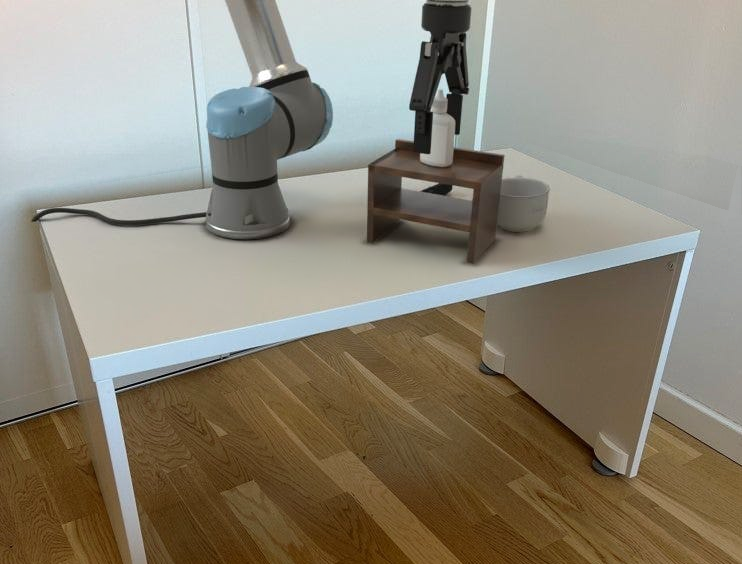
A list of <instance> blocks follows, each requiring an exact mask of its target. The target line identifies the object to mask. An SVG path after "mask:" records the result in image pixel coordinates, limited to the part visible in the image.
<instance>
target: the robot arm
mask: <svg viewBox="0 0 742 564" xmlns="http://www.w3.org/2000/svg"><path fill="white" fill-rule="evenodd" d="M471 1H472V0H425V2H424V3H423V5H422V7H421V23H420V25H421V27H420V28H421V29H422V30H423V31H425V32H429V33H430V37H429V41H424V40H423V41H421V42H420V51H419V59H418V63H417V67H416V73H415V77H414V82H413V86H412V91H411V96H410V100H409V104H408V105H409V107H408V109H409V111H413V112H414V127H413V129H414V130H413V141H414V146H413V152H416V153H422V154H428V155H429V154H430V153H431V138H432V123H433V111H432V104H433V101H434V98H435V97H436V96H437V93H438V90H439V89H438V88H439V85H440V83H441V80H442V77H443V75H444V77H445V80H446V85H447V89H448V92H449V93H446V97H445V98H447V99H448V102H447V112H446V113H447V114H449V115H450V116H452V117H453V118H454V120H455V136H459V135H460V134H461V126H462V125H461V124H462V111H463V101H464V95H469V92H470V87H469V85H470V81H469V69H468V56H467V32H468V31H470V28H471V17H472V6H471V5H470V4H468V3H469V2H471ZM224 2H225V5H226V7H227V11H228V13H229V16H230V19H231V22H232V24H233V27H234V30H235V33H236V35H237V38H238V41H239V44H240V46H241V49H242V52H243V56H244V58H245V62H246V63H247V66H248V69H249V72H250V74H251V81H250V83H249V85H248V86H242V87H239V88H236V87H235V88H230V89H227V90H223V91H221V92H219V93H217V94H214V96H212V97H211V98H210V99H209V100H208V103H207V104H206V127H205V128H206V130H207V139H208V148H209V149H208V150H209V159H210V169H211V179H212V188H211V191H210V196H209V200H208V205H207V210H206V211H204V212H203V211H202V212H196V213H186V214H179V215H173V216H165V217H155V218H146V219H132V220H131V219H129V220H128V219H116V218H110V217H107V216H105V215H103V214H102V213H100V212H97V211H95V210H91V209H79V208H69V207H51V208H46V209H44V210H42V211H40V212H38V213H36V214H35V215H34V216H33V217H32V218H31V220H30V222H31V223H34V222H38V221H39V220H40V219H41V218H43V217H45V216H47V215H51V214H60V213H61V214H64V213H65V214H74V215H86V216H92V217H95V218H97V219H99V220H101V221H102V222H105V223H107V224H111V225H115V226H116V225H117V226H142V225H151V224H160V223H161V224H162V223H170V222H178V221H185V220H192V219H193V220H194V219H202V218H205V224H206V229H207V230H208V231H209V232H210V233H212V234H213V235H216V236H218V237H221V238H227V239H232V240H258V239H264V238H270V237H273V236H276V235H279V234H280V233H283V232H285V231H286V230H287V229H288V228H289V227H290V224H291V222H290V212H289V209H288V208H287V204H286V200H285V198H284V195H283V193H282V191H281V188H280V185H279V177H278V175H279V174H278V160H281V159H285V158H287V157H289V156H292V155H295V154H297V153H301V152H306V151H309V150H311V149H313V148H314V147H316V146H318V145H319V144H321V143H323V141H324V140H326V138H327V137H328V136H329V133H330V130H331V129H332V126H333V122H334V108H333V103H332V100H331V98H330V96H329V94H328V92H327V91H326V90H325V89H324V88H323V87H321V85H319V84H318V83H316V82H312V79H311V76H310V73H309V70H308V67H306V66H304V65H302V64H300V63H299V62H297V60H296V57H295V54H294V51H293V48H292V45H291V43H290V40H289V37H288V34H287V30H286V27H285V25H284V21H283V19H282V16H281V12H280V10H279V7H278V4H277V1H276V0H224Z"/></svg>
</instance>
